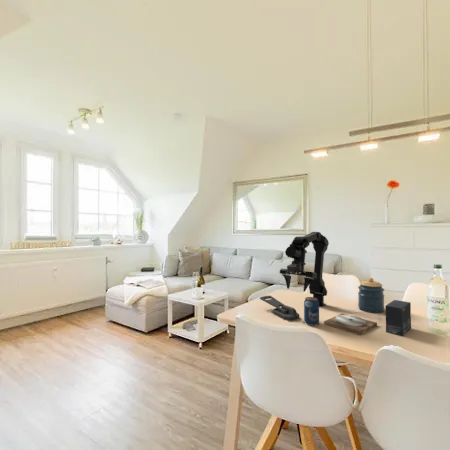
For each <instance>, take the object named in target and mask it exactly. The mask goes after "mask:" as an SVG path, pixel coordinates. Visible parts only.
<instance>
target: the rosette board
mask: <svg viewBox="0 0 450 450" xmlns="http://www.w3.org/2000/svg"><path fill="white" fill-rule="evenodd" d="M323 323H324V324H323V325H325V326H328V327H332V328H336V329H339V330H342V331H345V332H349V333H353V334H356V335H359V336H362V335H363V334H365V333H366V332H369V331H371V330H372V329H374V328H375V327H377V326H378V322H377V321H373V320H368V319H365V318H362V317H359V316H356V315H348V314H345V313H340V314H337V315H335V316H332V317H331V318H328V319H326V320H324V321H323Z"/></svg>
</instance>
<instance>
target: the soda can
mask: <svg viewBox="0 0 450 450" xmlns="http://www.w3.org/2000/svg"><path fill="white" fill-rule="evenodd" d="M303 303H304V304H303V315H304V316H303V319H304V320H303V321H304V323H305V324H306V325H307V326H312V327H313V326H318V325H319V323H320V306H319V301H318V299H317V298H315V297H313V296H307V297H304V301H303Z"/></svg>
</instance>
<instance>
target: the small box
mask: <svg viewBox="0 0 450 450" xmlns="http://www.w3.org/2000/svg"><path fill="white" fill-rule="evenodd" d="M411 306H412V304H411V301H406V300H405V301H404V300H403V301H402V300H398V299H394V300H392V301H390V302H389V303H387V304H386V305H384V312H385V332H386V333H387V334H393V335H397V336H400V337H404V336H405V335H406V334H407V333H408V332H409V331H410V330H411V329H412V317H411V316H412V315H411V313H412V310H411V309H412V307H411Z"/></svg>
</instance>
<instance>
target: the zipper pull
mask: <svg viewBox="0 0 450 450" xmlns="http://www.w3.org/2000/svg"><path fill="white" fill-rule="evenodd" d="M259 299H260V300H261V301H262V302H265V303H267V304H268V305H269V306H272V307H275V308H273V310H272V315H275V316H277V317H278V318H280V319H282V320H283V321H287V322H294V321H298V320H300V313H298V312H297V310H296V309H295V308H294V307H291V306H290V305H286V304H284V303H282V301H279V300H278V299H276V298H274V297H273V296H272V295H263V296H261V297H259Z"/></svg>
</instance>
